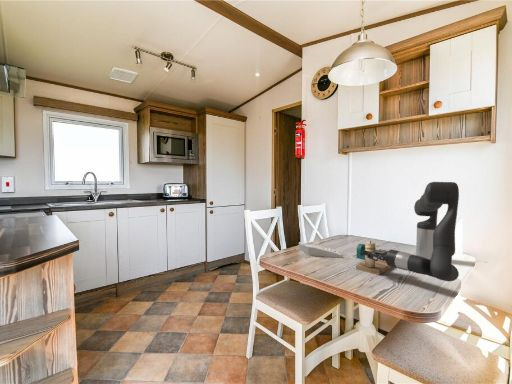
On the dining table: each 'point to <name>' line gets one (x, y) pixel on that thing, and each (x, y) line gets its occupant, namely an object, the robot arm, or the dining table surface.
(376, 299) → the dining table surface
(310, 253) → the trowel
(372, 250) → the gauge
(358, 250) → the bracket
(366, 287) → the dining table surface
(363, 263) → the board
